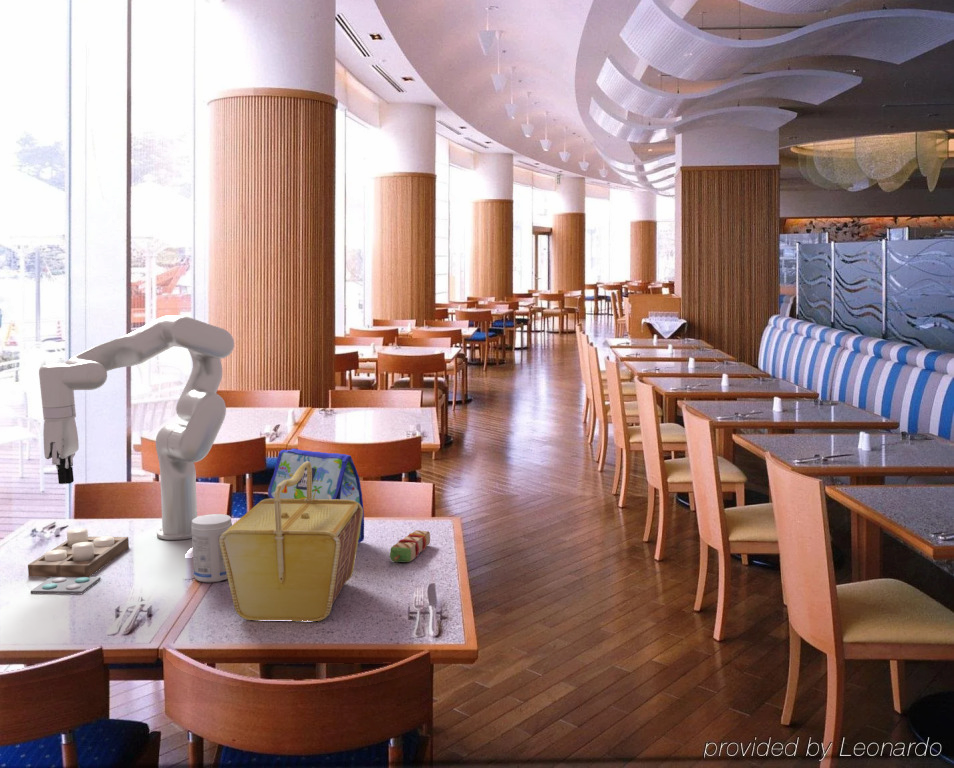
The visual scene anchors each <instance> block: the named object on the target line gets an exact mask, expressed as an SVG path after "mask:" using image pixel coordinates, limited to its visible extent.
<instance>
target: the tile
mask: <svg viewBox="0 0 954 768" xmlns="http://www.w3.org/2000/svg"><path fill="white" fill-rule="evenodd" d="M100 579H101V576H90V577H48V578H47V579H46V580H44V581H42V583H40V584H38V585H37V586H35V587H34V588H33V589H31V590H30V594H48V593H82V594H84V593H85V592H86V591H88V590H89V589H90V588H92V587H93V586H95V584H97V583H98V582H99V581H100ZM101 580H102V579H101ZM97 581H98V582H97ZM96 582H97V583H96ZM92 585H93V586H92ZM89 587H90V588H89ZM88 588H89V589H88ZM87 589H88V590H87ZM85 590H86V591H85ZM84 591H85V592H84ZM83 592H84V593H83Z"/></svg>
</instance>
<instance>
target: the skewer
mask: <svg viewBox="0 0 954 768" xmlns="http://www.w3.org/2000/svg"><path fill="white" fill-rule="evenodd" d="M430 543H431V532H429V531H428V530H427V531H426V530H419V529H416V530H414V531H413V532H409V534H408V535H406V536H405V537H404V538H402V539H399V540H398V541H397V543H396V544H393V546H391V547H390V552H389V558H390V561H391V562H393V563H400V562H401V563H402V562H403V563H410V562H411V561H413V560H415V558H418V557H419V556H420V554H421V552H423V551H425V550H426V549H427V546H429V545H430Z"/></svg>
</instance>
